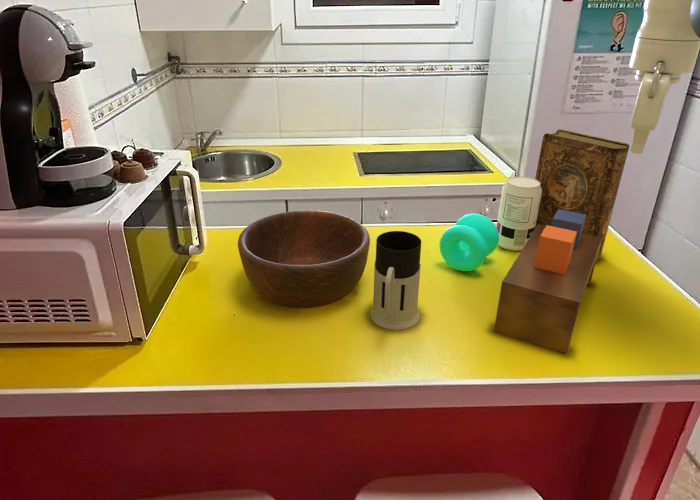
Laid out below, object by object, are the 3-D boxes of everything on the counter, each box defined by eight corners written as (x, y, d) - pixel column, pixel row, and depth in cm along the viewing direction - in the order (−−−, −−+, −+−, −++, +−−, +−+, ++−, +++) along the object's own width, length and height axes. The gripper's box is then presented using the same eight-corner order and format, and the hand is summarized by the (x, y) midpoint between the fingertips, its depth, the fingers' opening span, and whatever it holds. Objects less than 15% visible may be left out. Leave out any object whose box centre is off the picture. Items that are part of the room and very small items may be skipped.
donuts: (435, 265, 109) (439, 222, 105) (454, 247, 117) (458, 206, 112) (480, 279, 104) (486, 235, 100) (497, 259, 112) (504, 217, 107)
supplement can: (487, 239, 121) (496, 178, 114) (516, 233, 124) (526, 173, 117) (509, 254, 114) (519, 190, 107) (539, 248, 117) (551, 185, 110)
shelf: (590, 282, 104) (602, 237, 99) (566, 354, 84) (579, 302, 79) (529, 267, 109) (537, 224, 104) (493, 331, 89) (501, 281, 85)
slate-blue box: (580, 238, 99) (586, 214, 96) (576, 248, 95) (582, 224, 93) (553, 232, 101) (558, 208, 99) (548, 242, 97) (553, 218, 95)
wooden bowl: (253, 329, 89) (248, 277, 84) (234, 262, 110) (229, 218, 105) (388, 303, 96) (390, 255, 92) (345, 245, 117) (345, 203, 113)
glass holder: (422, 305, 96) (428, 232, 89) (411, 352, 84) (417, 272, 77) (375, 298, 98) (378, 226, 91) (358, 344, 86) (359, 265, 79)
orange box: (569, 262, 90) (577, 231, 88) (564, 274, 87) (572, 242, 84) (540, 255, 93) (546, 225, 90) (534, 267, 89) (540, 235, 86)
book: (604, 256, 113) (633, 144, 102) (591, 264, 110) (621, 150, 99) (537, 231, 124) (556, 128, 113) (524, 238, 121) (543, 132, 110)
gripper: (685, 68, 71) (656, 165, 78) (686, 52, 87) (662, 134, 93) (634, 64, 74) (611, 158, 81) (644, 50, 90) (624, 129, 96)
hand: (638, 145), depth 87 cm, fingers open, 8 cm apart
